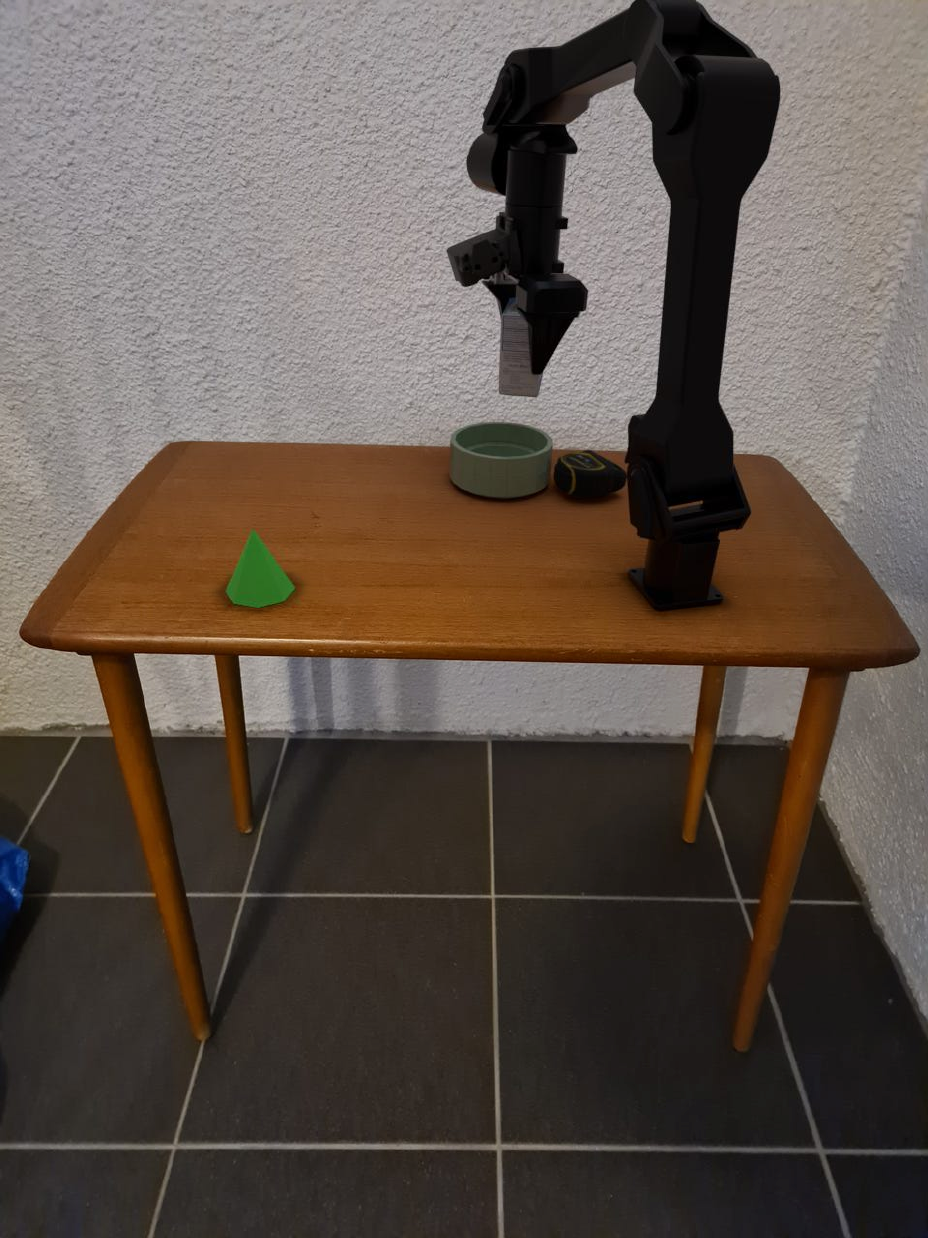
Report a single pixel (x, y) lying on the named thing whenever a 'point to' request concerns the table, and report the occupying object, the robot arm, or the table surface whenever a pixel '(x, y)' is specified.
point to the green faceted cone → (258, 577)
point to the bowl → (500, 459)
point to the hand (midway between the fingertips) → (523, 361)
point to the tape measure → (588, 475)
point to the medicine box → (516, 356)
